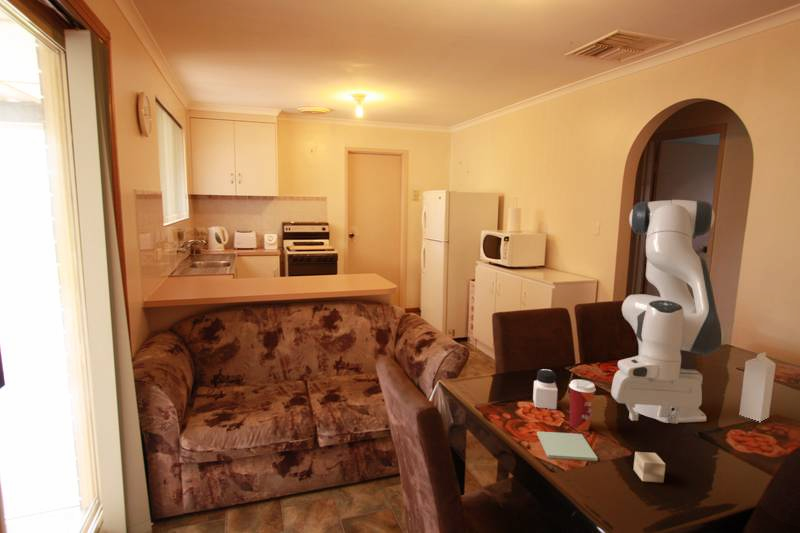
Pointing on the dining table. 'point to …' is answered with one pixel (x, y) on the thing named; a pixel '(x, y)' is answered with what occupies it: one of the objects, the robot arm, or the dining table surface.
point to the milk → (757, 388)
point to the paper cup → (581, 403)
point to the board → (566, 446)
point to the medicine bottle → (545, 390)
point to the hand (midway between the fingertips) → (653, 421)
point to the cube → (649, 467)
